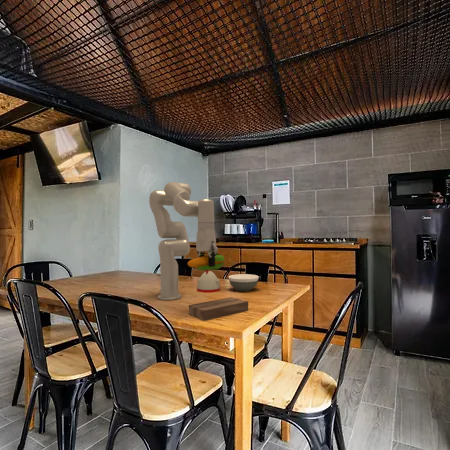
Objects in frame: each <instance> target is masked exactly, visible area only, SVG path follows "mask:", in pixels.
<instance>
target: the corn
mask: <svg viewBox="0 0 450 450" xmlns="http://www.w3.org/2000/svg"><path fill="white" fill-rule="evenodd" d="M211 254H212V253H211ZM200 255H203V254H200ZM208 258H210V257H209V254H208V252H205V255H204V256H202V257H196V258H193V259H190V260H188V262H187V263H186V264H187V266H188V267H190V268H196V270H198V271H206V270H211V271H213V270H214V271H215V270H219V269H220V268H222V267H223V265H224V264H225V261H226V260H225V257H224V255H222V254H221V253H220V254H219V253H217V254H216V257H215V266H213V267H209V260H208Z"/></svg>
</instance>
